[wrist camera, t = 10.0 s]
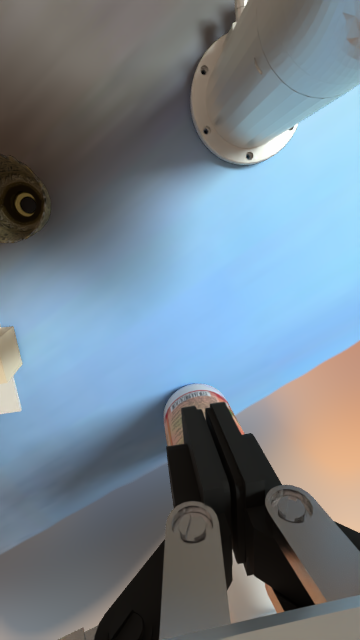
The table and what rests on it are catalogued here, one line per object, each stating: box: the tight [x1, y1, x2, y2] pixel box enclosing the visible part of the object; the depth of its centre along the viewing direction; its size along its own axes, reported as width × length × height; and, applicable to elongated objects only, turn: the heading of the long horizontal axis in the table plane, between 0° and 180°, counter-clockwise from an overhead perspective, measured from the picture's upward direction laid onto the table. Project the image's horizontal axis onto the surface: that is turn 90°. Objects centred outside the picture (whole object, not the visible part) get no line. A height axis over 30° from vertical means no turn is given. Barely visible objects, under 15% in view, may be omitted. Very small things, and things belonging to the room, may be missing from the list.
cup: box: [0, 154, 51, 243], centre depth 31 cm, size 7×7×8 cm
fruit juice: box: [163, 384, 277, 624], centre depth 32 cm, size 9×9×28 cm
